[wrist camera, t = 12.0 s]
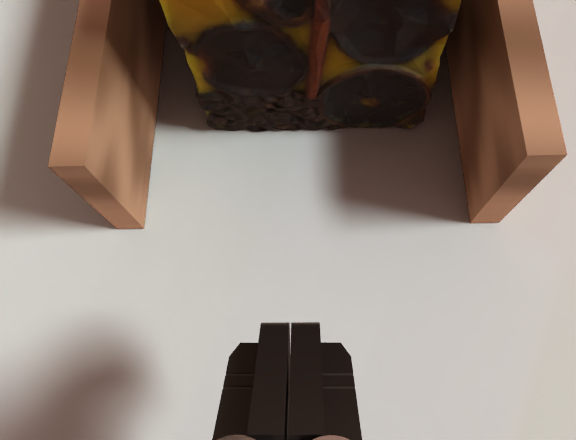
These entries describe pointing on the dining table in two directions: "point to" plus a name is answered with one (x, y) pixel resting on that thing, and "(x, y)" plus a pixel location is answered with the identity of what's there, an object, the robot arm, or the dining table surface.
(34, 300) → the dining table surface
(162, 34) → the lane
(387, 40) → the candle
